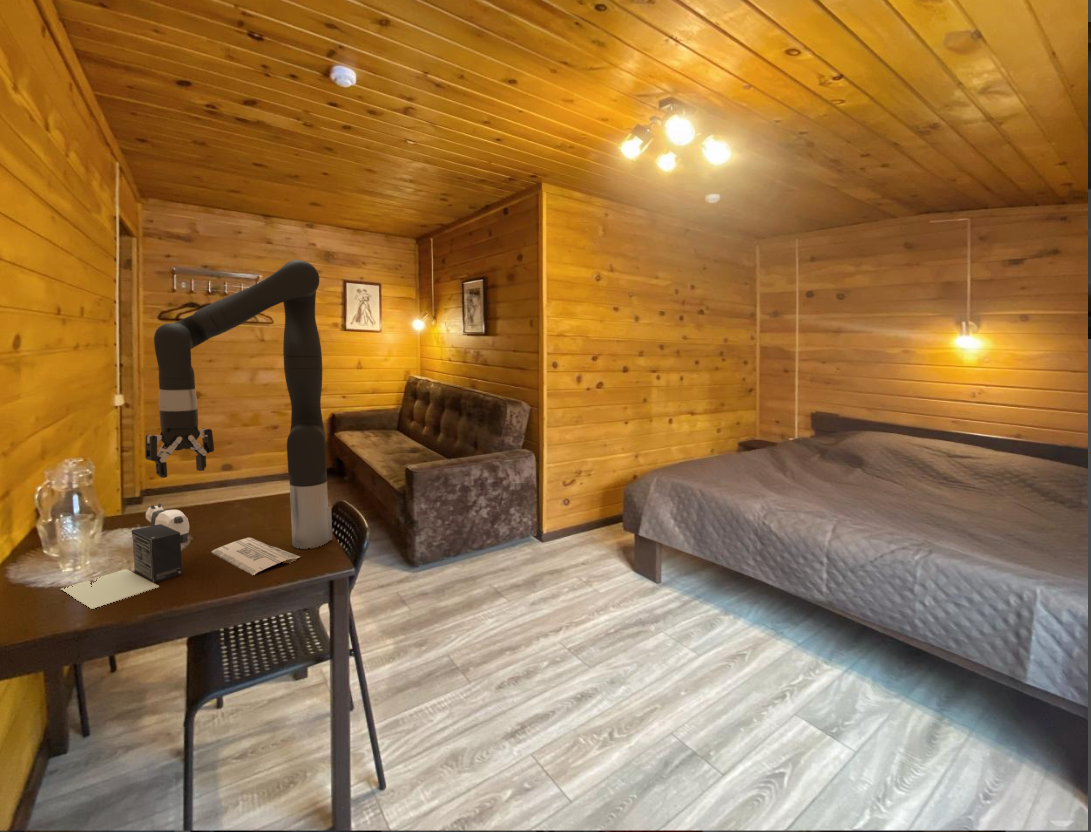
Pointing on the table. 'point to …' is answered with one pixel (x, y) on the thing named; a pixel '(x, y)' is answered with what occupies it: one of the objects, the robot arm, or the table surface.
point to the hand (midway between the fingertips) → (182, 473)
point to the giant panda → (169, 520)
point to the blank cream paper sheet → (109, 588)
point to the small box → (157, 552)
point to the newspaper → (252, 555)
